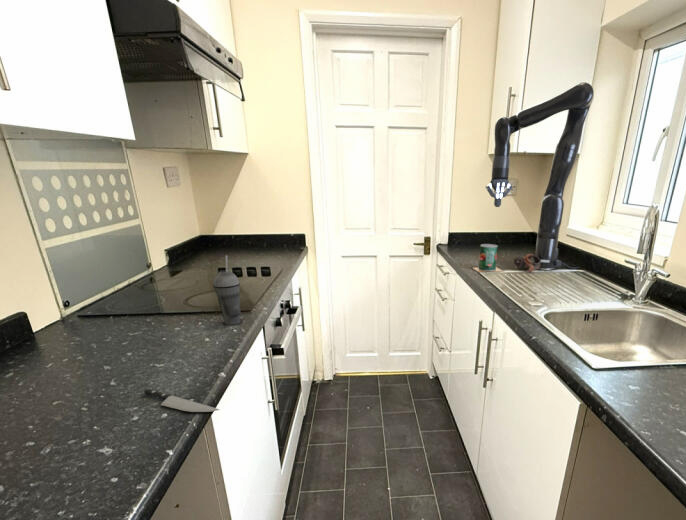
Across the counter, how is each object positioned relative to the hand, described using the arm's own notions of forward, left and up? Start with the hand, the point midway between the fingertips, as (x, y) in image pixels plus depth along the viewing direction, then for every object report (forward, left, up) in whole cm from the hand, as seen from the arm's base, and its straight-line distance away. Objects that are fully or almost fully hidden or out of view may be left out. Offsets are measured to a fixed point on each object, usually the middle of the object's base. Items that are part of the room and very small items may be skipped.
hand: (497, 206), depth 193 cm
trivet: (+7, +12, -27) cm, 30 cm away
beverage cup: (+109, +70, -27) cm, 132 cm away
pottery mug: (-10, +16, -27) cm, 33 cm away
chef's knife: (+109, +118, -27) cm, 164 cm away
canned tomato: (+7, +12, -27) cm, 31 cm away
